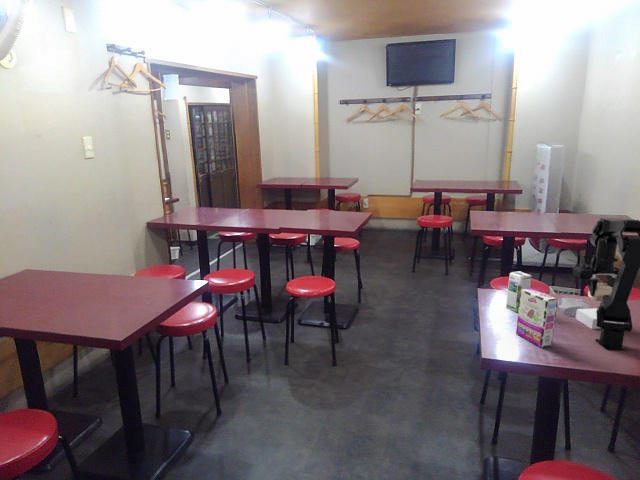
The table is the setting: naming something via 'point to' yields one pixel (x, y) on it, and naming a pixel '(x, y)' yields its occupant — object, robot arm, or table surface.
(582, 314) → the base block
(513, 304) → the syrup box
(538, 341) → the candy bar box
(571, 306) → the stone block
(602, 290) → the birch cube
